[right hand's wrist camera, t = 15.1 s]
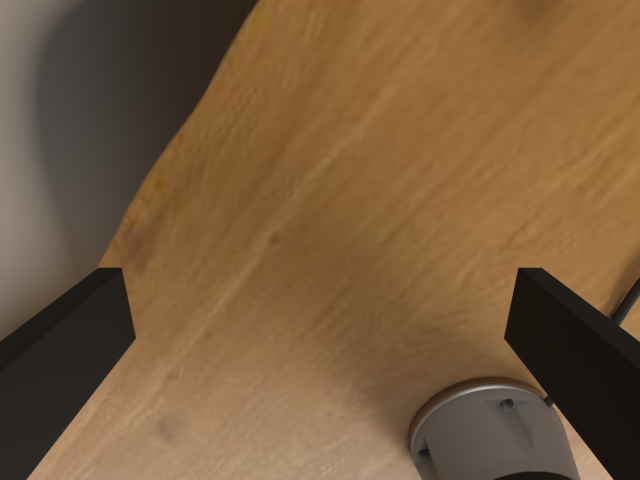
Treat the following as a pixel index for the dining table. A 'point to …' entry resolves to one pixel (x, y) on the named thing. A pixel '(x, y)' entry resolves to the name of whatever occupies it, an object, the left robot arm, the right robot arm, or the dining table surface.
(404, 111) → the dining table surface
